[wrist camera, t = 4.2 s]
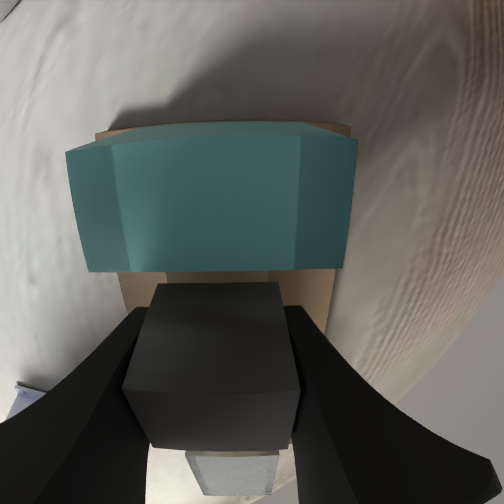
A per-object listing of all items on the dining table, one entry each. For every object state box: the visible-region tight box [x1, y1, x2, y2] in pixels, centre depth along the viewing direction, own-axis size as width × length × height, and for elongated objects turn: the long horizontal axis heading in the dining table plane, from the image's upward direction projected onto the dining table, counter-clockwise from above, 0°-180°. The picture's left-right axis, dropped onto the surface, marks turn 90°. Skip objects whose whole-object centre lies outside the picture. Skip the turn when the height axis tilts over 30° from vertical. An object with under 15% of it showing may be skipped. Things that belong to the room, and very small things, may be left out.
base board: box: [95, 120, 351, 444], centre depth 16 cm, size 10×23×1 cm, turn 0°
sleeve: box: [185, 450, 279, 496], centre depth 17 cm, size 5×8×5 cm, turn 0°
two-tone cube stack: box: [122, 270, 301, 452], centre depth 11 cm, size 4×14×7 cm, turn 0°
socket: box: [65, 121, 357, 272], centre depth 9 cm, size 6×3×6 cm, turn 90°
